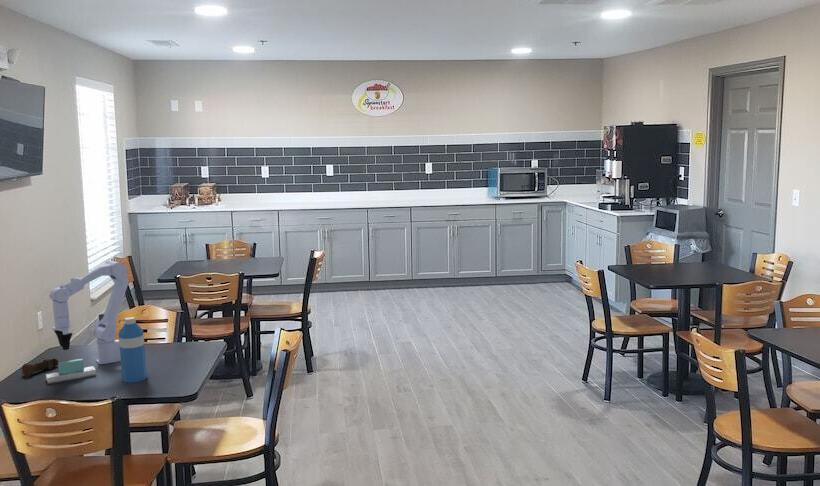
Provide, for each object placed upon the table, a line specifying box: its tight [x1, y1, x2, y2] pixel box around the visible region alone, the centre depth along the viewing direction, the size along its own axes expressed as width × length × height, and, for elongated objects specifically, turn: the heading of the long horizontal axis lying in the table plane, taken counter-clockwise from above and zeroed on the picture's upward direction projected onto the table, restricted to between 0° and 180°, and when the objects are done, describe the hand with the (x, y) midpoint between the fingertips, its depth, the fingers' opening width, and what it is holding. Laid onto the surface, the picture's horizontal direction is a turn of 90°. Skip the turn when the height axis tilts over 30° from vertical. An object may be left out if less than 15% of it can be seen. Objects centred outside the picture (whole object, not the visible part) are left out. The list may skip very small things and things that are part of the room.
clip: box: [57, 358, 85, 375], centre depth 313 cm, size 9×2×6 cm, turn 122°
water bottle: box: [118, 316, 148, 383], centre depth 307 cm, size 9×9×25 cm
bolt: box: [21, 358, 60, 377], centre depth 324 cm, size 6×5×15 cm
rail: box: [45, 365, 97, 385], centre depth 313 cm, size 18×6×2 cm, turn 122°
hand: (64, 347), depth 322 cm, fingers open, 7 cm apart
